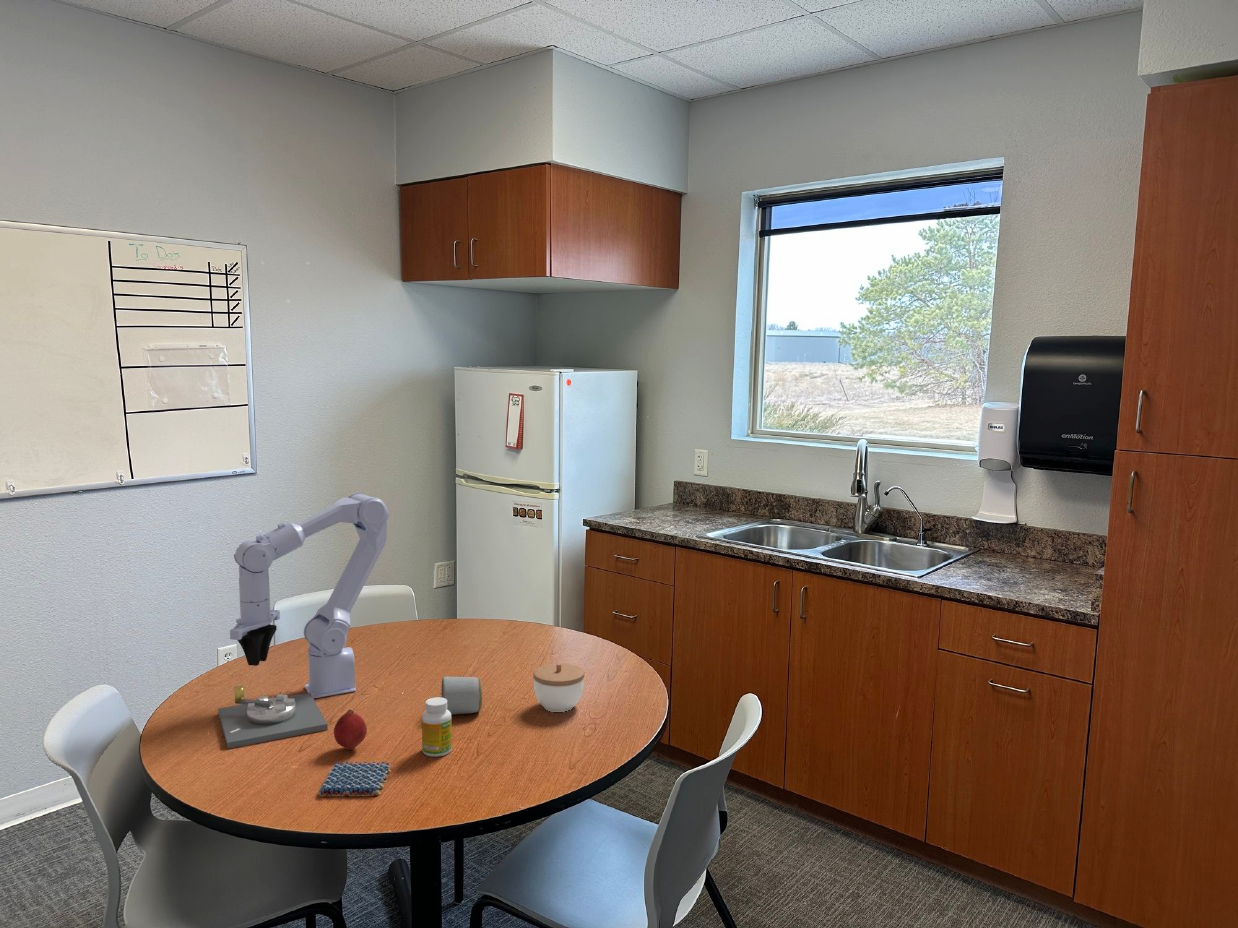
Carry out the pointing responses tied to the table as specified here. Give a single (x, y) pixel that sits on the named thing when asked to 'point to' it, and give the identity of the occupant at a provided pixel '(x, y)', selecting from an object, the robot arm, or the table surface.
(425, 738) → the supplement bottle
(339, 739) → the onion
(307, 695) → the base plate
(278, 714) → the lathe jaw chuck
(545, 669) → the lidded jar
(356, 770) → the woven mat
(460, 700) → the ceramic mug
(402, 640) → the table surface
